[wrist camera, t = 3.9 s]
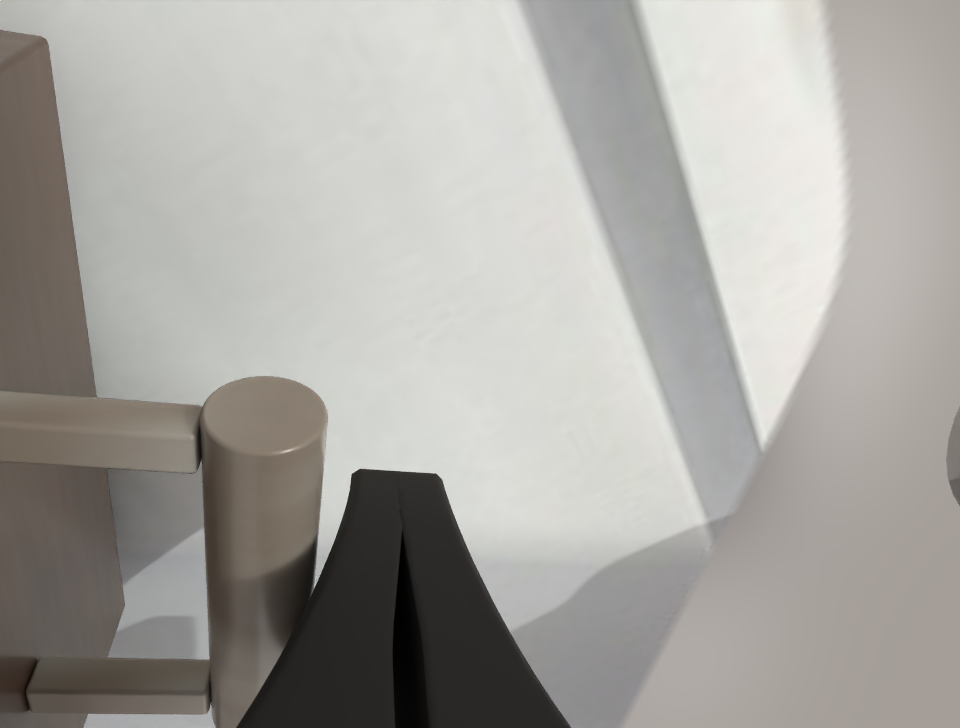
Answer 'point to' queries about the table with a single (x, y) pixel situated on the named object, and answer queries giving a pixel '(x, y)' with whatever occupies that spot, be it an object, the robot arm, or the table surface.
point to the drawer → (128, 446)
